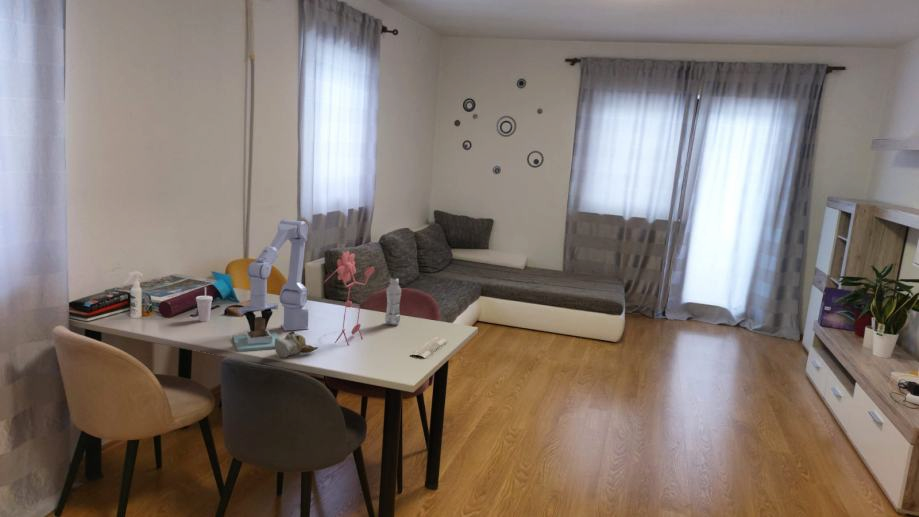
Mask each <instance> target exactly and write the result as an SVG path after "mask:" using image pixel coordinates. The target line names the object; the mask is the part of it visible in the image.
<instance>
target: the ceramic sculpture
mask: <svg viewBox="0 0 919 517" xmlns="http://www.w3.org/2000/svg"><path fill="white" fill-rule="evenodd" d="M317 349H319V347H318V346H312V345H309V344H306V339H305V337H304V336H303V335H302V334H299V333H295V331H291V332H288V333H287V334H286V336H285V337H284V338H280V339H277V338H276V339H275V353H276V354H277V356H278V357H279V358H287V356H288V355H291V356H292V355H299V354H309V353H312V352H314V351H316V350H317Z"/></svg>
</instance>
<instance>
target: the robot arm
mask: <svg viewBox="0 0 919 517" xmlns="http://www.w3.org/2000/svg"><path fill="white" fill-rule="evenodd" d="M308 232H309V226H308V224H307V222H305V221H303V220H292V219H286V218H283V219H281V220H280V222H279V223H278V225H277V233H276V234H275V236H274V238H273V240H272V242H271V243H270V245H269V246H266V247H264V249H263V250H262V251H261V252H260V254H259V255H258V256H257V258H256V259H255V261H252V262H250V263H249V265H247V270H246V274H247V276H248V281H249V282H250V284H249V286H250V288H249V289H250V290H249V291H250V293H249V295H250V296H249V298H250V299H249V300H250V305H249V306H245V307H240V308H238V313H239V314H243V313H244V314H245V315H244V317H245V318H246V320H247V323H248V326H249V331H252V332H254V322H255V317H257V315H256V314H255V313H254V312H261V317H263V318H264V319H265V330H267V327H268V324H269V321H270V319H271V317H272V315H273V310H279V304H278V303H275V302H273V303H268V302H267V300H268V299H267V292H268V291H267V289H268V288H267V286H268V285H267V284H268V283H267V282H268V278H269V277H270V274H271V273H272V272H271V270H272V268H273V264H274V263H275V261H276V260H277V258H278V257H279V250H280V249H281V248H282V247H283V246H284V245H285V243H286V242H287V241H288V240H289V243H291V246H290V254H289V255H290V256H289V263H288V264H289V267H288V277H287V282H286V283H284V284H283V285H282V286H281V290H280V293H279V297H278V298H279V302H280V304H282V305H281V306H282V307H283V323H281V324H280V326H281V327H282V329H283V331H297V330H298V331H300V330H308V329H309V308H308V306H307V305H306V304H307V302H308V293H307V292H308V288H307V287H306V286H305V285H304V284H302V275H303V267H304V260H305V259H304V258H305V246H306V242H308V234H309V233H308Z"/></svg>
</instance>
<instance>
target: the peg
mask: <svg viewBox="0 0 919 517" xmlns="http://www.w3.org/2000/svg"><path fill="white" fill-rule="evenodd" d="M249 331H250V330H249ZM250 336H251V337H263V336H265V319H264V318H263V317H262V316H255V322H254V332H252V331H250Z"/></svg>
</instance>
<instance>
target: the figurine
mask: <svg viewBox="0 0 919 517" xmlns="http://www.w3.org/2000/svg"><path fill="white" fill-rule="evenodd" d="M355 257H356V255H355V253H350V251H349V250H347V251H346V252H345V251H344V252H342V254H341V259H339V258H338V259H337V261H336V264H337V269H335V270H334V271H333V272H332V274H330V275H329V276H328V277H327V278H326V280H324V282H323V283H326V282H327V281H328V280H329V279H330V278H331V277H332V276H333V275H334V274H335V273H338V275H337V280H338V281H341V280H342V282H343V284H344V286H345V288H348V292H347V293H348V294H347V300H346V301H345V303H344V306H345V309H344V314H343V322H342V330H341V332H340V333H339V335H338V337H337V338H336V340H335V342H334V343H335V344H336V343H337V342H338V340H339V339H341V337H342V335H343V336H344V339H345V342H346V345H347V346H349V345H350V343H349V340H348V337H347V335H346V333H345V331H346V328H344V327H345V319H346V313H347V308H351V307H354V308H356V309H358V313H357V320H356V325H355V326H354V327H353V328H352V329H351V335H353V336H354V335H355V334H356V333H357V332H358V333H359V336H360V339H361V340H364V338H363V335H362V332H361V329H360V328H361V323H359V319H360V311H361V308H360V306H356V305H354V304H353V302H352V301H351V300H349V299H350V293H351V292H350V291H351V288H352V287H353V286H354V285H356V284H358V285H362V286H366V284H367V282H368V280H369V278H370V276H372V275H373V274H374V273H375V271H376V270H375V268H374V266H371V267H369V268H367V269H366V270H365V272H364V276H365V278H366V280H365V283H363V282H357V281H356V279H355V277H354V275H356V274H357V268H356V266H355V265H356V262H355ZM351 279H352V280H353V282H351V283H349V284H348V285H347V283H348V282H350V281H351ZM336 333H337V332H334V334H336ZM330 334H331V335H332V334H333V332H331V333H330V332H329V333H328V334H323V336H321V338H319V340H321V339H322V338H323V337H325V336H328V335H330ZM371 336H374V335H373V334H371Z"/></svg>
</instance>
